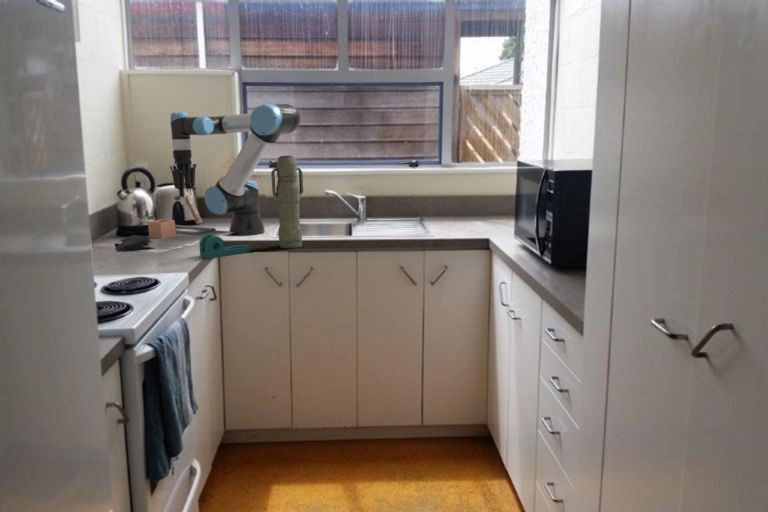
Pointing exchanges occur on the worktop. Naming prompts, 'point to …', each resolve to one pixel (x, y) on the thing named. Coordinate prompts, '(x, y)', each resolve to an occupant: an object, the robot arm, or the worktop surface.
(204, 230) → the charcoal tray
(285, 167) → the thermos
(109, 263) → the worktop surface
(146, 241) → the dark slate chunk
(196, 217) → the beech stick
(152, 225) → the orange open cube box
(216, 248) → the bracket
